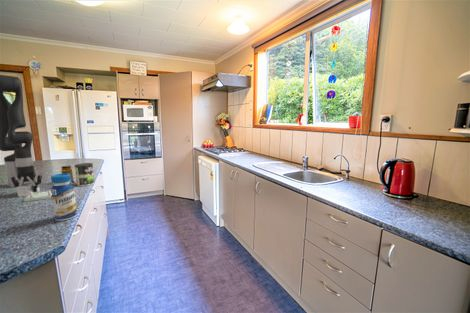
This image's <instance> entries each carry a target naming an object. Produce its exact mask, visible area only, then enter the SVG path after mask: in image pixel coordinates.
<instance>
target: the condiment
mask: <svg viewBox="0 0 470 313" xmlns="http://www.w3.org/2000/svg"><path fill="white" fill-rule="evenodd" d="M64 173H68V174H70V176H71V181H70V183H71V182H73V180H74V176H73V170H72V166H71V165H63V166H61V174H64ZM73 183H74V182H73ZM71 184H72V183H71Z"/></svg>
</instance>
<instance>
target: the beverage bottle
mask: <svg viewBox="0 0 470 313" xmlns="http://www.w3.org/2000/svg"><path fill="white" fill-rule="evenodd" d="M50 180H51V184H53V185H52V186H51V188H50V191H51V193H52V196H51V199H50V200H51V201H52V208H53V214H54V220H55V221H59V222H60V221H62V222H63V221H68V220H71V219H73V218H75V217H77V216H78V211H77V202H76V192H75V191H74V189H75V187H74V185H73V183H70V181H71V176H70V174H68V173H64V174H62V173H56V174H52V175H51V177H50Z"/></svg>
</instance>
